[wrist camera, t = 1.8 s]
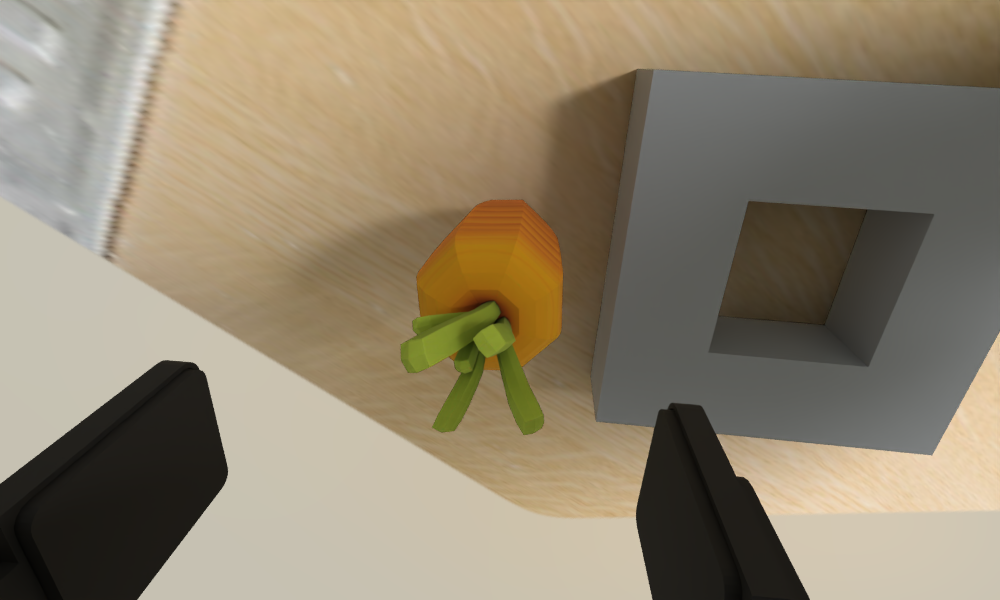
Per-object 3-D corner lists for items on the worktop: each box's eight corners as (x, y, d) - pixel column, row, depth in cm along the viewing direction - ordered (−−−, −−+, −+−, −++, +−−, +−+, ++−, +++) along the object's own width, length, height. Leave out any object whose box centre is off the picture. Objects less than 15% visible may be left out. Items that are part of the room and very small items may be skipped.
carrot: (577, 242, 25) (605, 445, 12) (488, 276, 26) (422, 495, 13) (540, 149, 24) (522, 262, 10) (447, 190, 25) (320, 339, 11)
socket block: (1028, 90, 21) (1129, 95, 17) (882, 404, 27) (931, 455, 24) (637, 68, 22) (654, 69, 18) (590, 376, 29) (595, 421, 25)
